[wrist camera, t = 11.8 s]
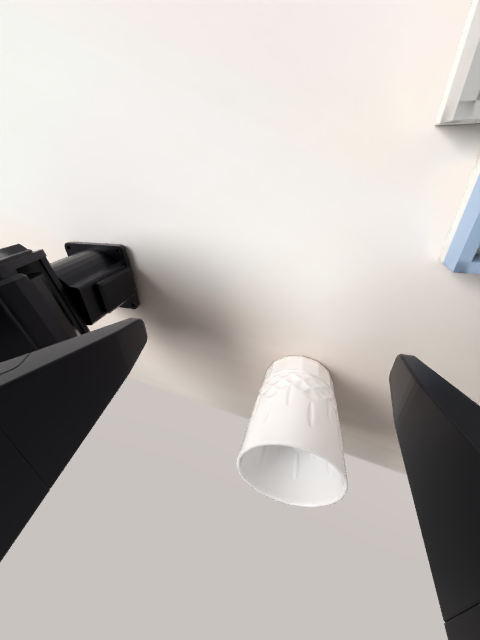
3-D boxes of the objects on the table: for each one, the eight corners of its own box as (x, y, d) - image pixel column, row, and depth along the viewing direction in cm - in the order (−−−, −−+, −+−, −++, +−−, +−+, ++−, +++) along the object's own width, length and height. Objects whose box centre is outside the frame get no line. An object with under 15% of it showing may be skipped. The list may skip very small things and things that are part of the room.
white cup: (346, 403, 27) (359, 511, 19) (275, 409, 30) (259, 503, 22) (326, 343, 24) (330, 441, 15) (249, 357, 27) (219, 444, 19)
